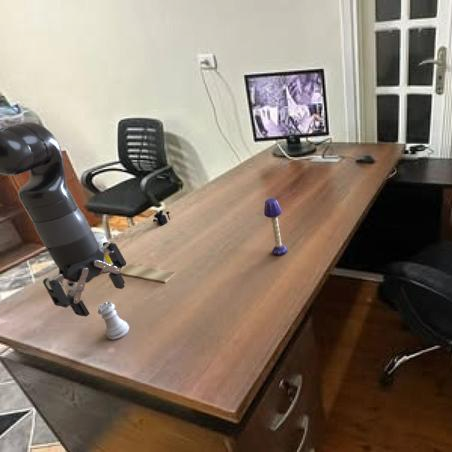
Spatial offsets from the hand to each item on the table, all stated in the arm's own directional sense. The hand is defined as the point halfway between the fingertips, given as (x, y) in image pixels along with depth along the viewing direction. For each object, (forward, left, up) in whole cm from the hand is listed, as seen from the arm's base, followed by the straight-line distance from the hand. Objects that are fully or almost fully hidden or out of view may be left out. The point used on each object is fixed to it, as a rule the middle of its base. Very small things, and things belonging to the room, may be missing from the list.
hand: (103, 300), depth 73 cm
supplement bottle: (-7, +31, -9) cm, 33 cm away
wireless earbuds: (+6, +53, -9) cm, 54 cm away
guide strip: (+3, +22, -9) cm, 24 cm away
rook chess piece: (0, 0, -9) cm, 9 cm away
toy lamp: (+40, +15, -9) cm, 44 cm away
